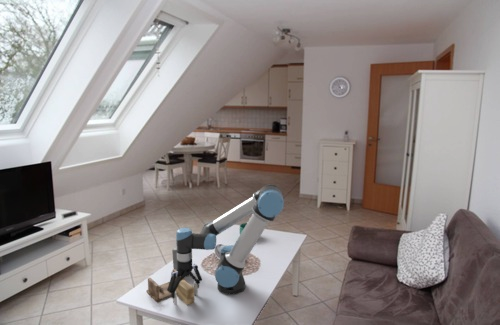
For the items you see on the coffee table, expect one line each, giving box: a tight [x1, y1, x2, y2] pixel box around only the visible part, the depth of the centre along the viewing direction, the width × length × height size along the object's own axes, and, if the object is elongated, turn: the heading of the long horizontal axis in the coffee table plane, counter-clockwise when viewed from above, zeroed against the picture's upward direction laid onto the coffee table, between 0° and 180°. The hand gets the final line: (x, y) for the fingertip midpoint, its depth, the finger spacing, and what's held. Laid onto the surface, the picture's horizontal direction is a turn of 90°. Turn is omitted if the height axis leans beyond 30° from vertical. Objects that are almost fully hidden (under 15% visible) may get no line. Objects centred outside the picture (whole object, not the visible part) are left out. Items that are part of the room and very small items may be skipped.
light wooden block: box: [177, 279, 195, 306], centre depth 172 cm, size 4×10×8 cm, turn 41°
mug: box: [239, 222, 248, 235], centre depth 248 cm, size 17×13×10 cm
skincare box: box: [172, 245, 178, 270], centre depth 198 cm, size 8×7×16 cm
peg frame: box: [146, 268, 185, 303], centre depth 179 cm, size 12×17×8 cm
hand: (185, 298), depth 173 cm, fingers open, 11 cm apart
